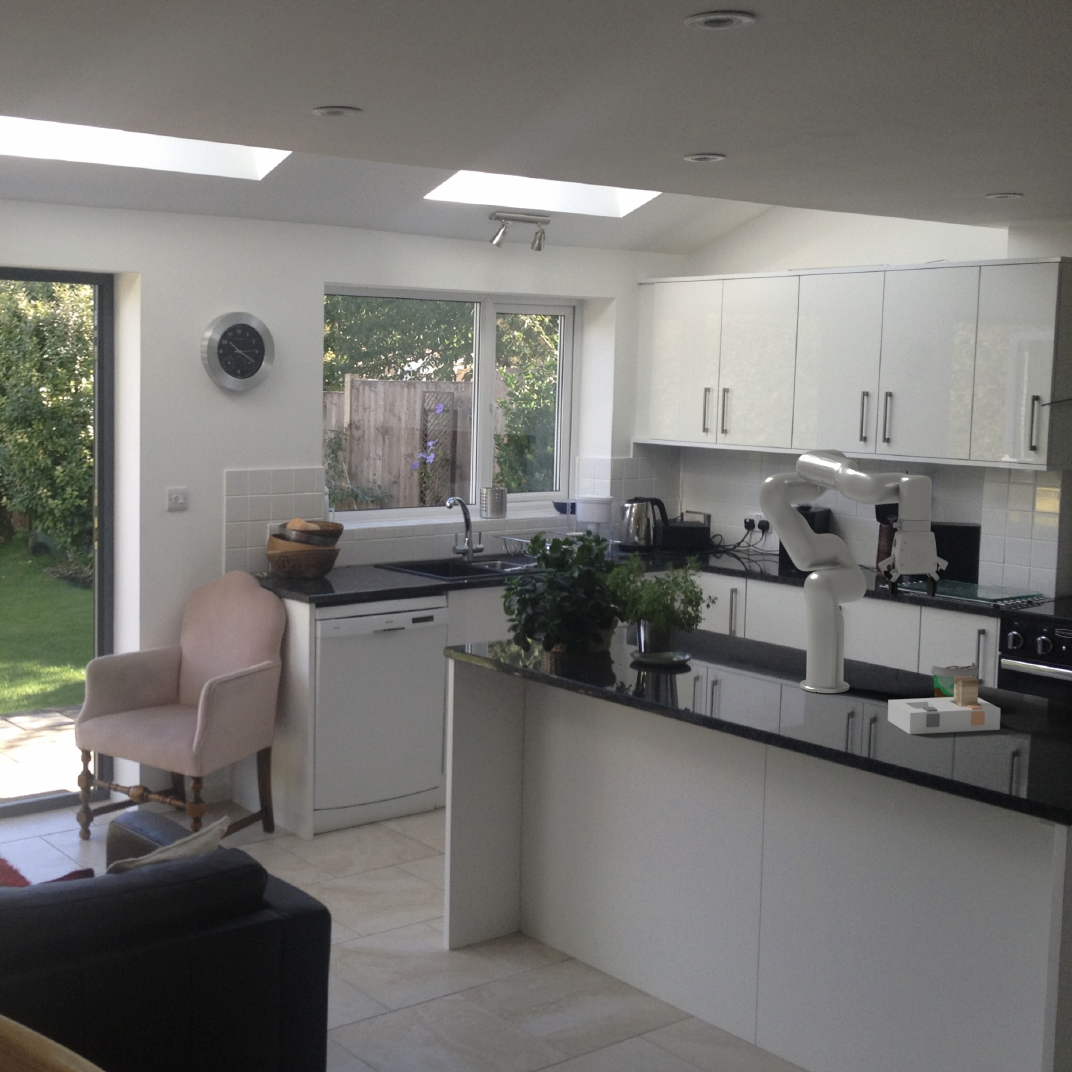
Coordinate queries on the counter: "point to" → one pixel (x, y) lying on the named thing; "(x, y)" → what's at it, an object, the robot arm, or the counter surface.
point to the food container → (950, 678)
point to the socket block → (942, 715)
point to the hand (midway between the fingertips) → (912, 596)
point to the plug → (965, 690)
